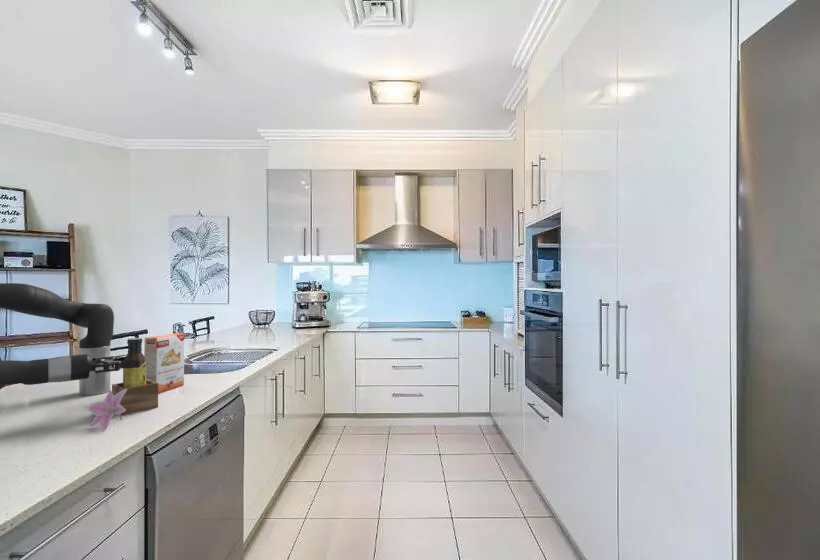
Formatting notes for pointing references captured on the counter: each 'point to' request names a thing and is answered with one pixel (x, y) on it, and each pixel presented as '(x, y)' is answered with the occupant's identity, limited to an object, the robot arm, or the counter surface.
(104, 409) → the lily
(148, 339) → the cracker box
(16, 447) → the counter surface
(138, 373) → the sauce bottle
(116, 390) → the bottle holder
